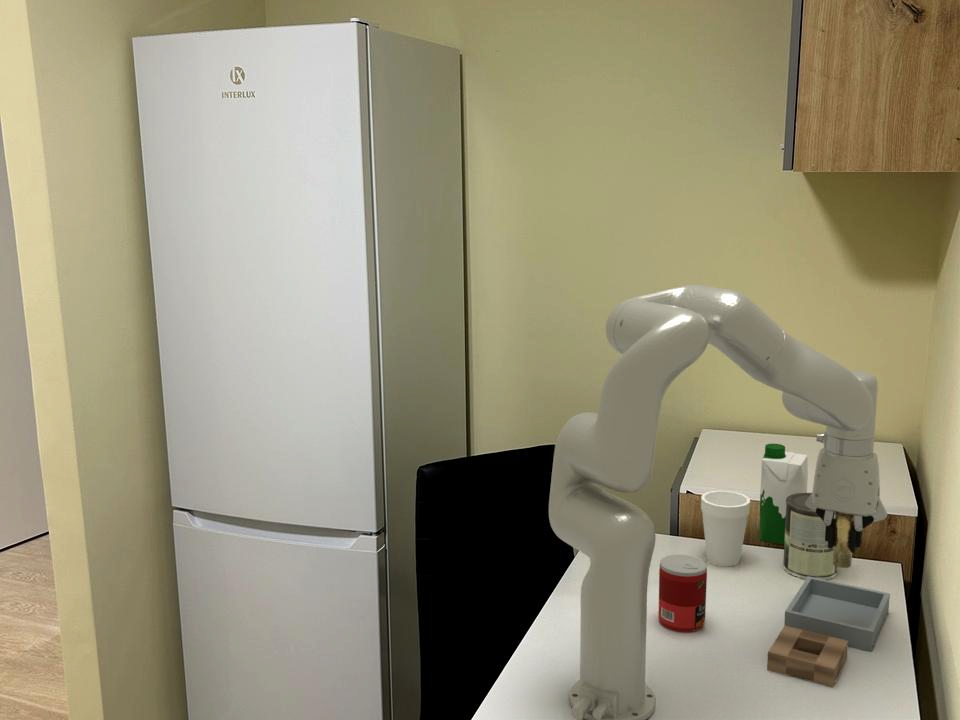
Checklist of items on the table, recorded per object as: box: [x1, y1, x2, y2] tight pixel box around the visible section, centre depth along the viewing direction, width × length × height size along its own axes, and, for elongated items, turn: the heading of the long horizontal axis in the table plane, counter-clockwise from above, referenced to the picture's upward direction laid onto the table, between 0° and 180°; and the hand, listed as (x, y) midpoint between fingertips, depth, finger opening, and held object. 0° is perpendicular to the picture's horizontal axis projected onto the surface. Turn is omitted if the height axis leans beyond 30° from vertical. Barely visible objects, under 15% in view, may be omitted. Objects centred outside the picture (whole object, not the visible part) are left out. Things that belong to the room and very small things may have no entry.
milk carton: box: [759, 443, 809, 545], centre depth 196 cm, size 9×9×20 cm
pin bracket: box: [766, 626, 849, 688], centre depth 148 cm, size 10×10×3 cm
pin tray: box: [783, 576, 891, 653], centre depth 162 cm, size 16×14×4 cm
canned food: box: [658, 554, 708, 633], centre depth 161 cm, size 8×8×11 cm
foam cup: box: [700, 490, 751, 567], centre depth 186 cm, size 10×9×13 cm
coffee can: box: [782, 492, 839, 581], centre depth 181 cm, size 10×10×14 cm
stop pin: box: [833, 512, 855, 569], centre depth 159 cm, size 3×3×10 cm
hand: (842, 546), depth 159 cm, fingers closed on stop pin, 3 cm apart
